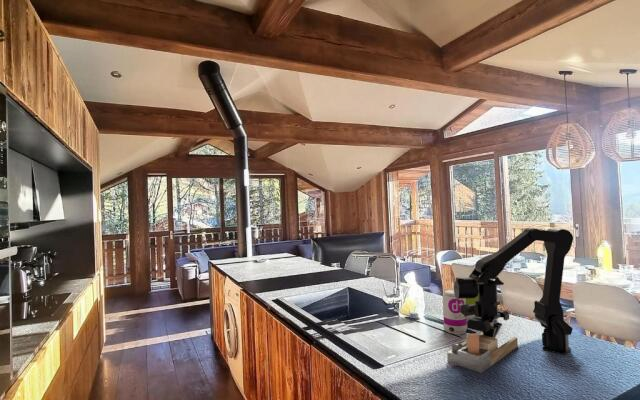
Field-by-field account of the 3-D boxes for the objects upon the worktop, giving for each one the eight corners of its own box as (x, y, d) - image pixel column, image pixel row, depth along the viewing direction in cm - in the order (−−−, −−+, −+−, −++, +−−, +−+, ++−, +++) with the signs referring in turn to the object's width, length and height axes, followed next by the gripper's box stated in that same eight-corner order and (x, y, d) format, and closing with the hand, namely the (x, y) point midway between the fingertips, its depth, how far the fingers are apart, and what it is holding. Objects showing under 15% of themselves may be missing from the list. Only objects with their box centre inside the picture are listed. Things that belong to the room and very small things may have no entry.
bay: (517, 346, 122) (517, 337, 122) (490, 366, 108) (490, 356, 109) (486, 338, 130) (485, 330, 130) (457, 356, 116) (456, 346, 116)
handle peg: (476, 358, 107) (476, 338, 107) (465, 355, 109) (465, 335, 109) (481, 355, 109) (480, 335, 109) (470, 352, 112) (470, 332, 112)
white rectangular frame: (491, 366, 109) (490, 349, 109) (481, 373, 104) (480, 355, 104) (457, 355, 117) (457, 340, 117) (447, 362, 112) (446, 345, 112)
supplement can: (468, 335, 134) (467, 294, 134) (445, 334, 136) (443, 294, 136) (464, 327, 142) (463, 289, 142) (442, 327, 144) (441, 289, 144)
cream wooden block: (498, 354, 116) (497, 337, 116) (488, 361, 111) (487, 343, 112) (476, 348, 121) (475, 332, 122) (466, 354, 117) (465, 338, 117)
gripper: (476, 289, 133) (478, 332, 133) (450, 299, 120) (452, 346, 120) (509, 294, 124) (510, 340, 124) (484, 305, 112) (486, 356, 112)
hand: (489, 345), depth 120 cm, fingers closed
